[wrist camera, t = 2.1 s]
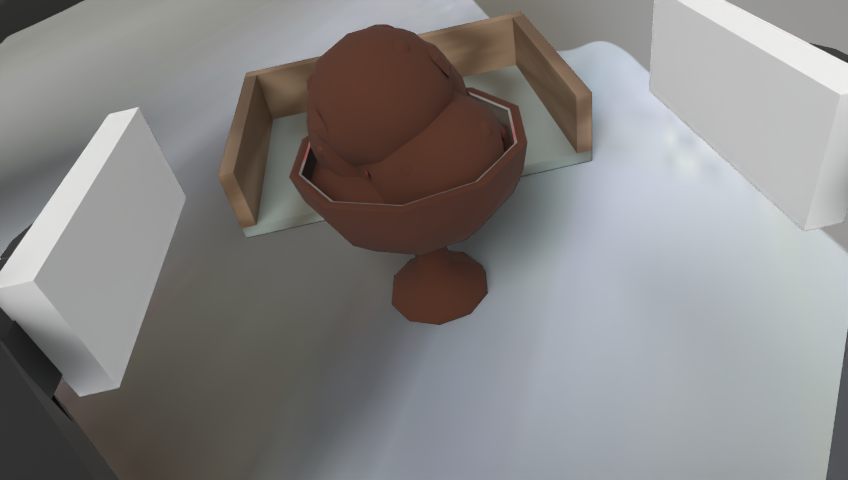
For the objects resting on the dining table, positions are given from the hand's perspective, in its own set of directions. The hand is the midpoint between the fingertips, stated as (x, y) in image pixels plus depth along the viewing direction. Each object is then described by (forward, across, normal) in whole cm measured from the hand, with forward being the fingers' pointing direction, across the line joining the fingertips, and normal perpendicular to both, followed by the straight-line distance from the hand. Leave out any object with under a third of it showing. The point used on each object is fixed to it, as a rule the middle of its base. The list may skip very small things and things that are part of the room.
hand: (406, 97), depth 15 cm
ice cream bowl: (+10, 0, -16) cm, 19 cm away
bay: (+28, 0, -16) cm, 32 cm away
